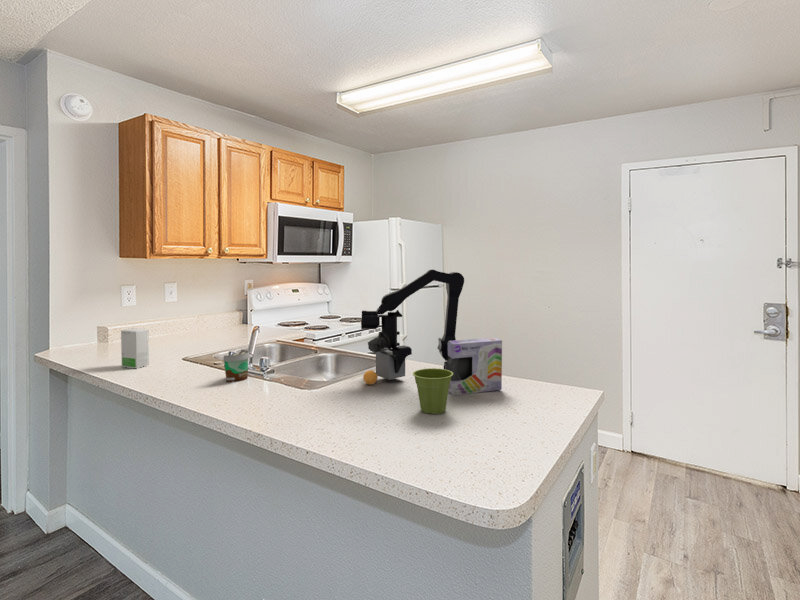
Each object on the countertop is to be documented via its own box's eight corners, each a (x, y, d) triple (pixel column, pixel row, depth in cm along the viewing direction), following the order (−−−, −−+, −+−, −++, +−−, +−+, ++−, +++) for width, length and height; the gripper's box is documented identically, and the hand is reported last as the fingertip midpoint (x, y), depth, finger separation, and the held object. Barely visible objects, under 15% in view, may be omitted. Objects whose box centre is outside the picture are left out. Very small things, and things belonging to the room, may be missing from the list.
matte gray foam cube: (405, 376, 164) (405, 352, 163) (388, 379, 159) (388, 355, 158) (391, 372, 169) (392, 349, 169) (375, 375, 164) (375, 351, 164)
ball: (379, 385, 158) (380, 371, 158) (368, 386, 155) (369, 371, 155) (370, 382, 162) (372, 369, 162) (359, 383, 159) (361, 369, 159)
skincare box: (121, 367, 184) (119, 330, 182) (135, 364, 190) (133, 327, 189) (137, 369, 181) (135, 331, 180) (150, 365, 188) (148, 328, 186)
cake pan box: (449, 396, 145) (450, 342, 144) (444, 391, 150) (444, 339, 148) (502, 391, 150) (503, 339, 149) (495, 387, 155) (496, 337, 154)
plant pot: (428, 401, 139) (428, 366, 138) (460, 409, 132) (461, 372, 131) (404, 411, 130) (404, 373, 129) (437, 420, 123) (438, 380, 122)
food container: (239, 384, 159) (238, 356, 158) (223, 383, 160) (223, 355, 159) (257, 375, 171) (256, 349, 170) (242, 374, 172) (241, 349, 172)
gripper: (356, 328, 164) (356, 369, 166) (388, 334, 150) (388, 380, 151) (380, 325, 171) (380, 365, 173) (412, 331, 157) (412, 374, 158)
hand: (389, 371), depth 164 cm, fingers closed on matte gray foam cube, 8 cm apart
